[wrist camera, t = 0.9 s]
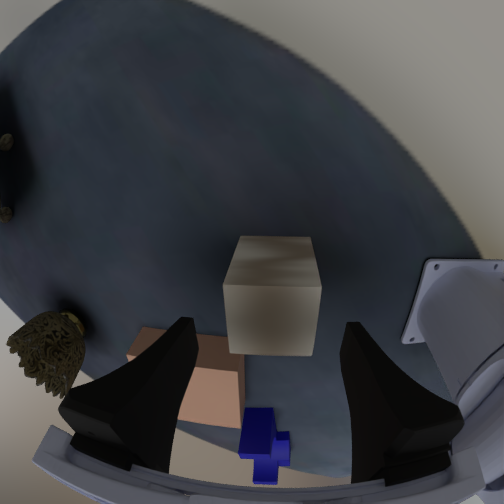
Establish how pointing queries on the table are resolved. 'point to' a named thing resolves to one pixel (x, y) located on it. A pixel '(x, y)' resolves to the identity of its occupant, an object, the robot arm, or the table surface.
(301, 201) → the table surface
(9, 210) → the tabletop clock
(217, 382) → the terracotta block
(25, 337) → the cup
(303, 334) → the ivory block
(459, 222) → the table surface
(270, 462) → the blue stepped block
